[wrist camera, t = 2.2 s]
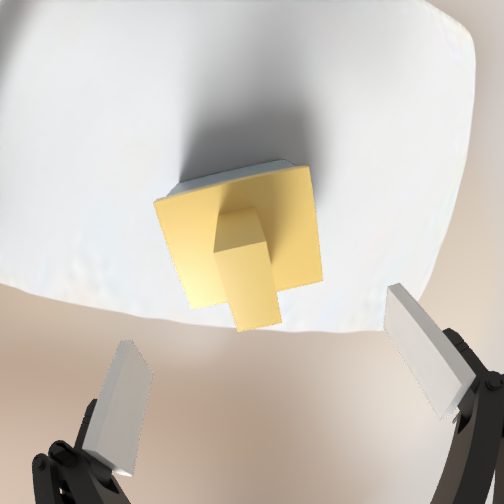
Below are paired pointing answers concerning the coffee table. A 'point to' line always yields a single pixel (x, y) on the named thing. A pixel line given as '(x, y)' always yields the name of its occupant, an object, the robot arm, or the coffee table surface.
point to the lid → (244, 242)
